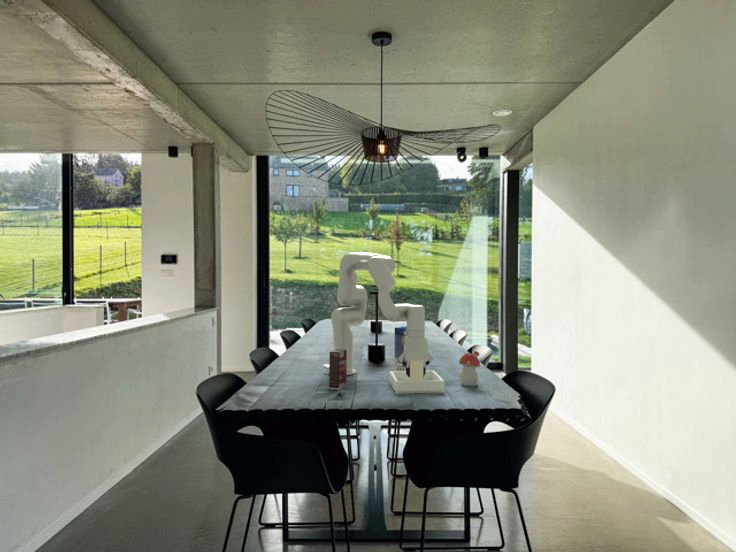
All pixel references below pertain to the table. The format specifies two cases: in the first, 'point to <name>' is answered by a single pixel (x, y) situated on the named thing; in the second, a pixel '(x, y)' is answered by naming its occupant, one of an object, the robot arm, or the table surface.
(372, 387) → the table surface
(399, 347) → the blue cardboard box
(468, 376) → the decorative ornament
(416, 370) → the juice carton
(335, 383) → the supplement box
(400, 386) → the tray
